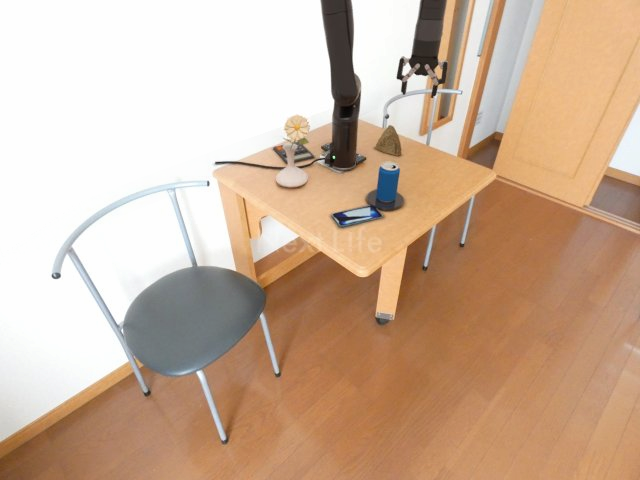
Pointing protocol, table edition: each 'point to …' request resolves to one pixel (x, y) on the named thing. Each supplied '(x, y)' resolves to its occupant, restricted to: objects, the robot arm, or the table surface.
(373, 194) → the metal coaster
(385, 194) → the beverage can
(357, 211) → the smartphone
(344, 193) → the table surface
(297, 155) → the calculator
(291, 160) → the flower in vase
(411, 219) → the table surface
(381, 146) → the rock
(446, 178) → the table surface
